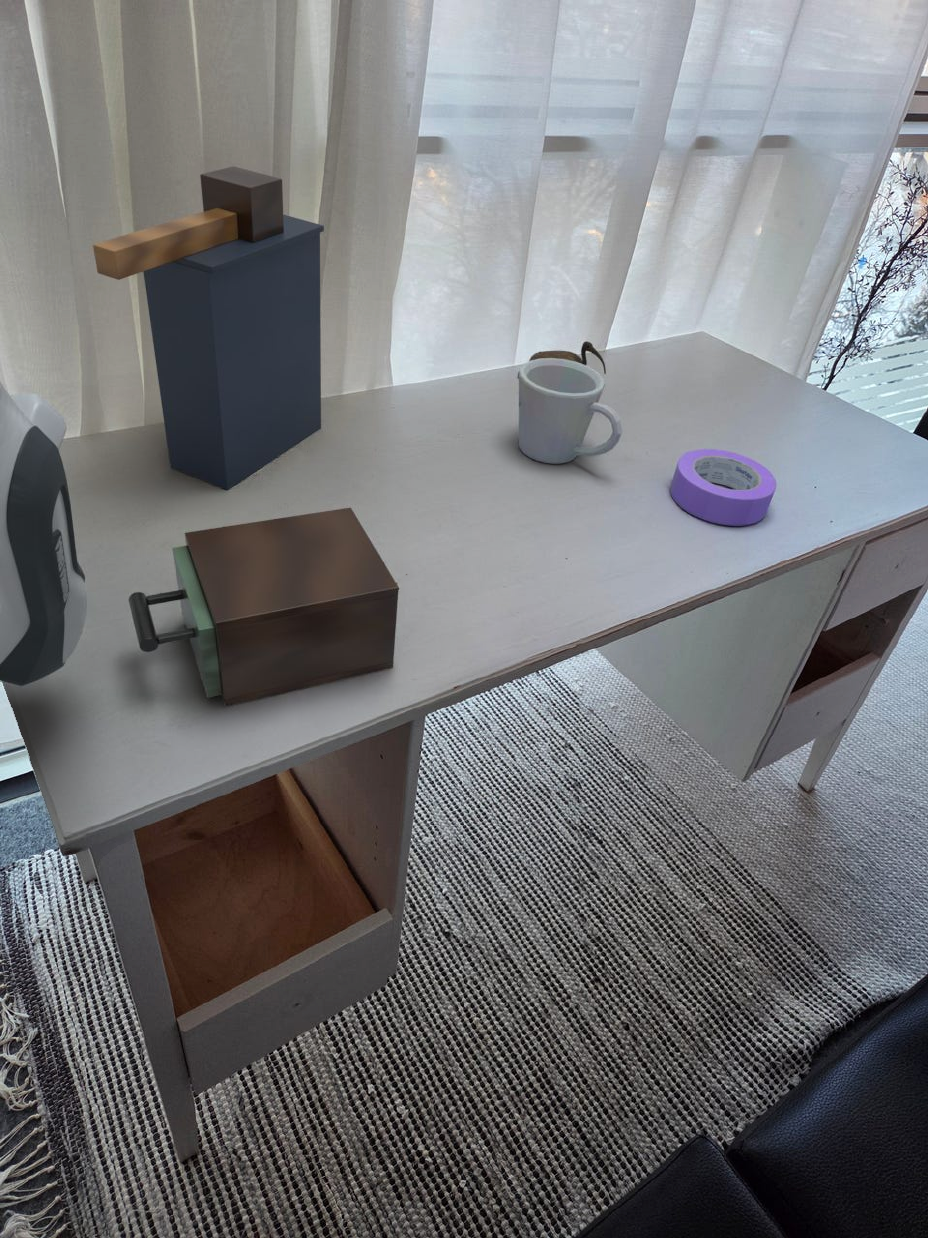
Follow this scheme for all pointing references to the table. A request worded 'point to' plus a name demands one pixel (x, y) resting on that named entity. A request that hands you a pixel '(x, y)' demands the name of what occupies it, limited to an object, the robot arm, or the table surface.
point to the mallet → (201, 224)
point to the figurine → (570, 355)
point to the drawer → (194, 618)
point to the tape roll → (718, 502)
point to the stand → (238, 351)
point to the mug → (560, 410)
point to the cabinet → (295, 602)
